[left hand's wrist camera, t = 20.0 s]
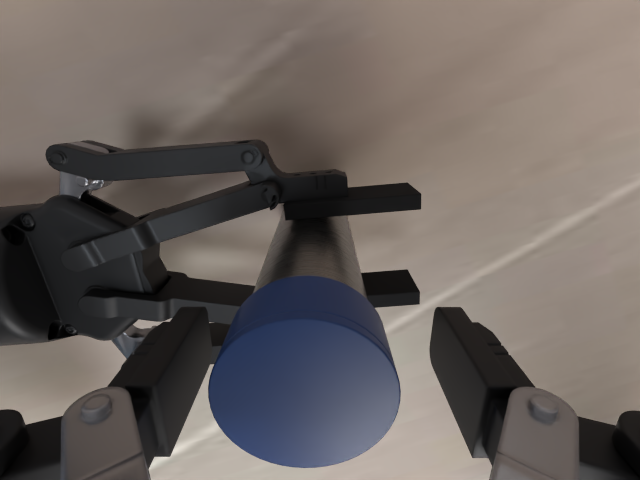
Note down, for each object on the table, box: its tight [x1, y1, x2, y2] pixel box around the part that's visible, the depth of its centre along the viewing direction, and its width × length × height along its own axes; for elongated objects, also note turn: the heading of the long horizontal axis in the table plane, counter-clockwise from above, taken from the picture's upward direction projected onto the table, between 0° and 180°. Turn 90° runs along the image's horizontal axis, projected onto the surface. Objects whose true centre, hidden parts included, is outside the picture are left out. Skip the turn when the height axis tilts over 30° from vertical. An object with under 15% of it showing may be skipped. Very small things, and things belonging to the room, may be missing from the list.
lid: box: [208, 276, 401, 468], centre depth 10 cm, size 5×5×2 cm
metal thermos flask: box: [253, 210, 368, 300], centre depth 17 cm, size 4×4×16 cm
